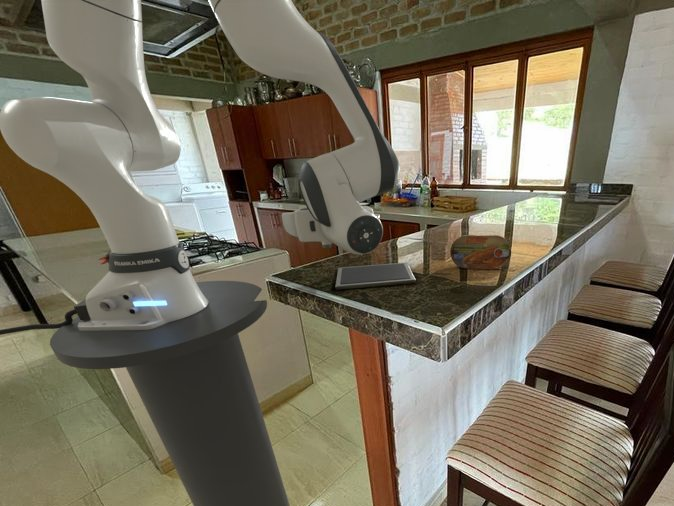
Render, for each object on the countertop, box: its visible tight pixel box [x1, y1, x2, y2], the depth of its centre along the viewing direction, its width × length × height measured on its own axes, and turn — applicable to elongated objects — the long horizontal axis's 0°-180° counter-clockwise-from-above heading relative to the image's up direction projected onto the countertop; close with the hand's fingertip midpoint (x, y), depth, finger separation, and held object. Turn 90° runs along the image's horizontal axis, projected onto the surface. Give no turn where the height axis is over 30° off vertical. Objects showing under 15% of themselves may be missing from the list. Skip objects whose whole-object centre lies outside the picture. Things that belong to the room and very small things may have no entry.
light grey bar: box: [321, 242, 332, 249], centre depth 82 cm, size 2×2×14 cm
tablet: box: [334, 262, 417, 291], centre depth 82 cm, size 18×14×1 cm
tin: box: [449, 234, 512, 270], centre depth 84 cm, size 15×3×8 cm, turn 76°
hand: (321, 214), depth 82 cm, fingers closed on light grey bar, 2 cm apart
